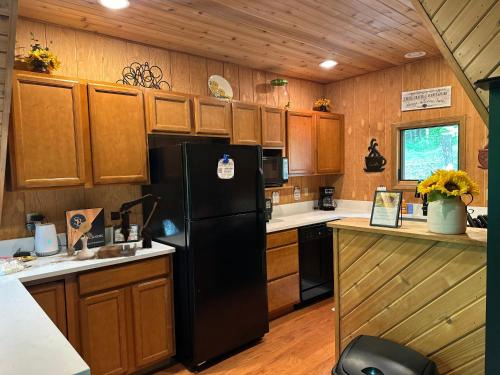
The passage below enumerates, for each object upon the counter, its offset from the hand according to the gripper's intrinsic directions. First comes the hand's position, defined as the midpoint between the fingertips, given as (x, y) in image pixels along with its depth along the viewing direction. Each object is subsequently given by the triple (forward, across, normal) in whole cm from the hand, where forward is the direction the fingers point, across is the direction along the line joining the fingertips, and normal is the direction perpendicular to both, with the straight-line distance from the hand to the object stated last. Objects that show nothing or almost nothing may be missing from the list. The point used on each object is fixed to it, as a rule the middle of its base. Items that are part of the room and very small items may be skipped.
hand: (126, 241), depth 248 cm
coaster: (-1, 0, 0) cm, 1 cm away
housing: (+7, +13, -9) cm, 17 cm away
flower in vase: (+7, +16, -24) cm, 30 cm away
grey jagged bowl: (+6, +13, 0) cm, 14 cm away
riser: (+7, 0, 0) cm, 7 cm away
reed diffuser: (+7, +1, -36) cm, 37 cm away
